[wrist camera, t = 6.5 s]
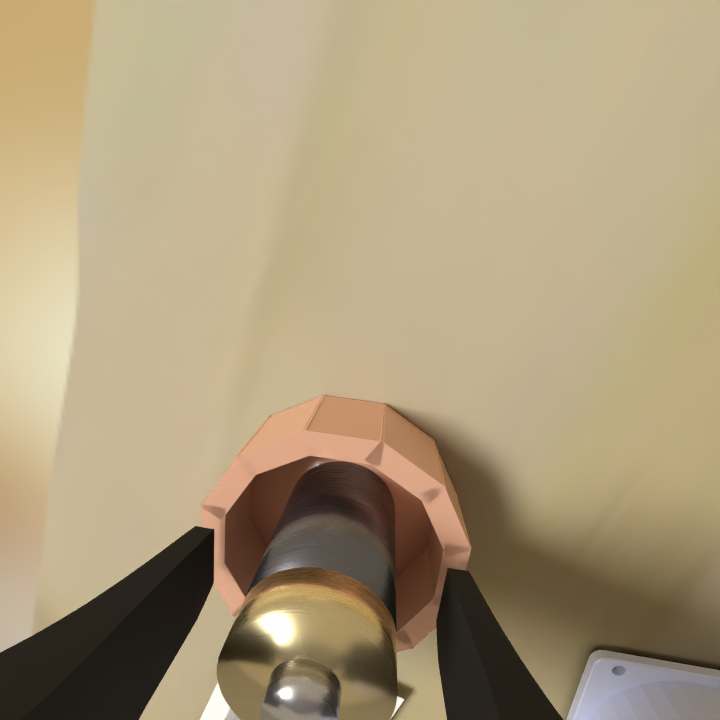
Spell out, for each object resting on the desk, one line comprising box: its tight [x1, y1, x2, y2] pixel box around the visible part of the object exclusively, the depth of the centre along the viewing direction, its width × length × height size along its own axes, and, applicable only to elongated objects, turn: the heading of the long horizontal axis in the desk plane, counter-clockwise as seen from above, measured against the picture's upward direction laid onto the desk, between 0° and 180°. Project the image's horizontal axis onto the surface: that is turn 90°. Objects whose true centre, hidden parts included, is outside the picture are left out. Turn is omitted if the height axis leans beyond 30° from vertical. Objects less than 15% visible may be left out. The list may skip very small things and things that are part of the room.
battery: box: [217, 461, 397, 720], centre depth 10 cm, size 4×4×7 cm
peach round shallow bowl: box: [201, 395, 472, 652], centre depth 13 cm, size 9×9×3 cm
